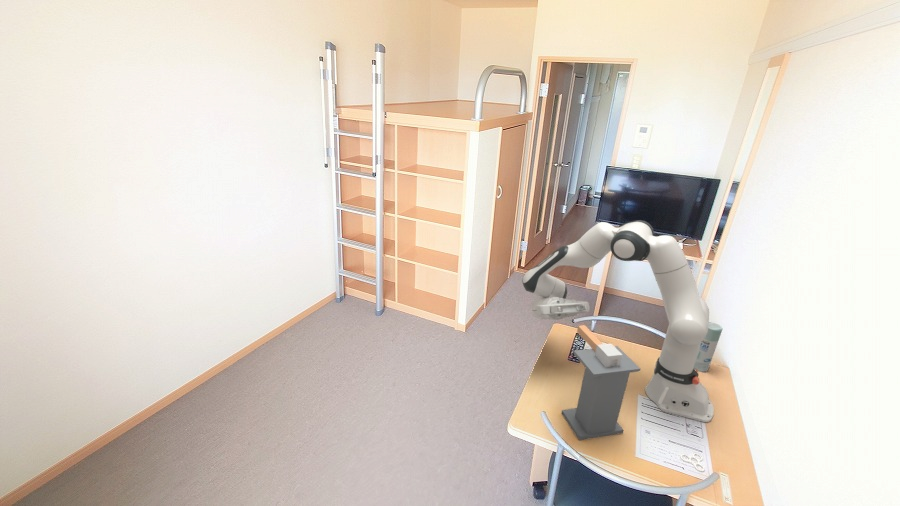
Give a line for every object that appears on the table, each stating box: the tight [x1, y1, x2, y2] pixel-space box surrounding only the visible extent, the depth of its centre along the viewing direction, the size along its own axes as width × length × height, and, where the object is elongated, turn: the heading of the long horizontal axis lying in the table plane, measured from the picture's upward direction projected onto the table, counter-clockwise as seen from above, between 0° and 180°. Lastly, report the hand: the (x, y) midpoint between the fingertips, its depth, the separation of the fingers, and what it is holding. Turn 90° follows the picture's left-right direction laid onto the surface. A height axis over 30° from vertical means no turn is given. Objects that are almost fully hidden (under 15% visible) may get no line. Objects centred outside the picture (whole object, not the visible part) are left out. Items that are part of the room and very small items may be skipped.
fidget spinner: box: [679, 452, 706, 473], centre depth 127 cm, size 7×6×1 cm
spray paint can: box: [694, 321, 723, 373], centre depth 168 cm, size 6×6×20 cm
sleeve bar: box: [576, 324, 622, 367], centre depth 135 cm, size 20×5×4 cm, turn 13°
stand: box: [561, 345, 641, 441], centre depth 135 cm, size 12×16×26 cm
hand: (573, 308), depth 148 cm, fingers open, 8 cm apart
